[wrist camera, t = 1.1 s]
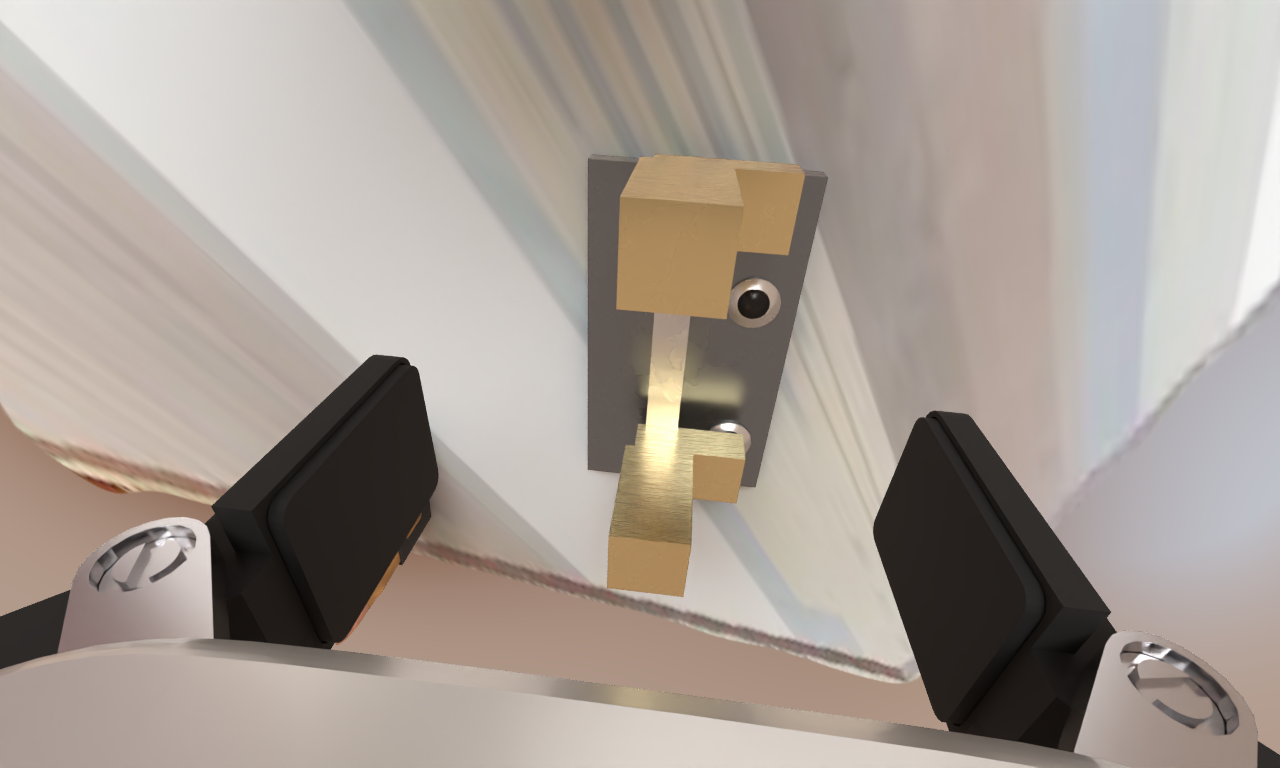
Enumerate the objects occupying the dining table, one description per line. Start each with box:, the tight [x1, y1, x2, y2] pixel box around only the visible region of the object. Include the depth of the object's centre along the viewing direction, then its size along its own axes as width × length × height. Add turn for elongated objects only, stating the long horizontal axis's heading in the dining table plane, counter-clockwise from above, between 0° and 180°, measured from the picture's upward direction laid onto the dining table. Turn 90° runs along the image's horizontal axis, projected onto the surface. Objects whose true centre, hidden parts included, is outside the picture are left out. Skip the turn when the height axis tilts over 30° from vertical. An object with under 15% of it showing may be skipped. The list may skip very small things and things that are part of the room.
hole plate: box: [588, 155, 828, 597], centre depth 28 cm, size 21×12×12 cm, turn 177°
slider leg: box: [616, 154, 805, 319], centre depth 23 cm, size 4×7×10 cm, turn 87°
